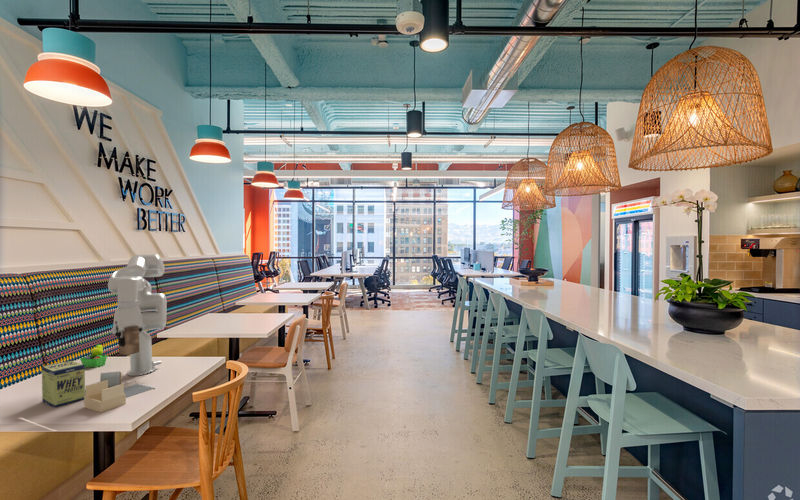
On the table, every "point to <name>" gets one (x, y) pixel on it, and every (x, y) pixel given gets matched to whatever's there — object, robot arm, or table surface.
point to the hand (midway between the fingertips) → (128, 344)
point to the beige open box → (104, 396)
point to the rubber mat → (135, 389)
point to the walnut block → (130, 341)
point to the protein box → (63, 383)
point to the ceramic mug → (111, 378)
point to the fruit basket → (94, 358)
